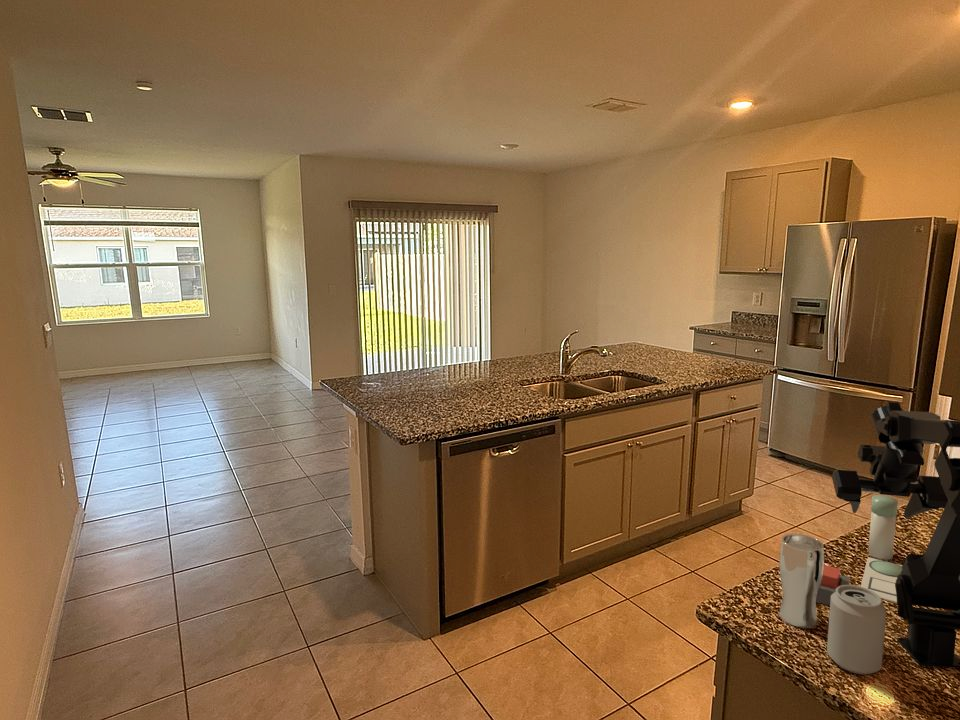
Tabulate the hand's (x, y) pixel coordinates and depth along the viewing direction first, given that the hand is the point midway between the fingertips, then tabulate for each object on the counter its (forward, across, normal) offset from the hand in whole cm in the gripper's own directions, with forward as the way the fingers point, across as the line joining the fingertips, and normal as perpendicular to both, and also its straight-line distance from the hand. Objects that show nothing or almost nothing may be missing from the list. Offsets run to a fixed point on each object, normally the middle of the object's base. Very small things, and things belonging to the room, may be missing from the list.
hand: (879, 513), depth 117 cm
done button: (+3, +12, +16) cm, 20 cm away
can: (-5, +12, +35) cm, 37 cm away
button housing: (+5, +12, +17) cm, 22 cm away
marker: (+15, -3, 0) cm, 15 cm away
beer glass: (0, +18, +26) cm, 32 cm away
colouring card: (+9, -1, +10) cm, 13 cm away
